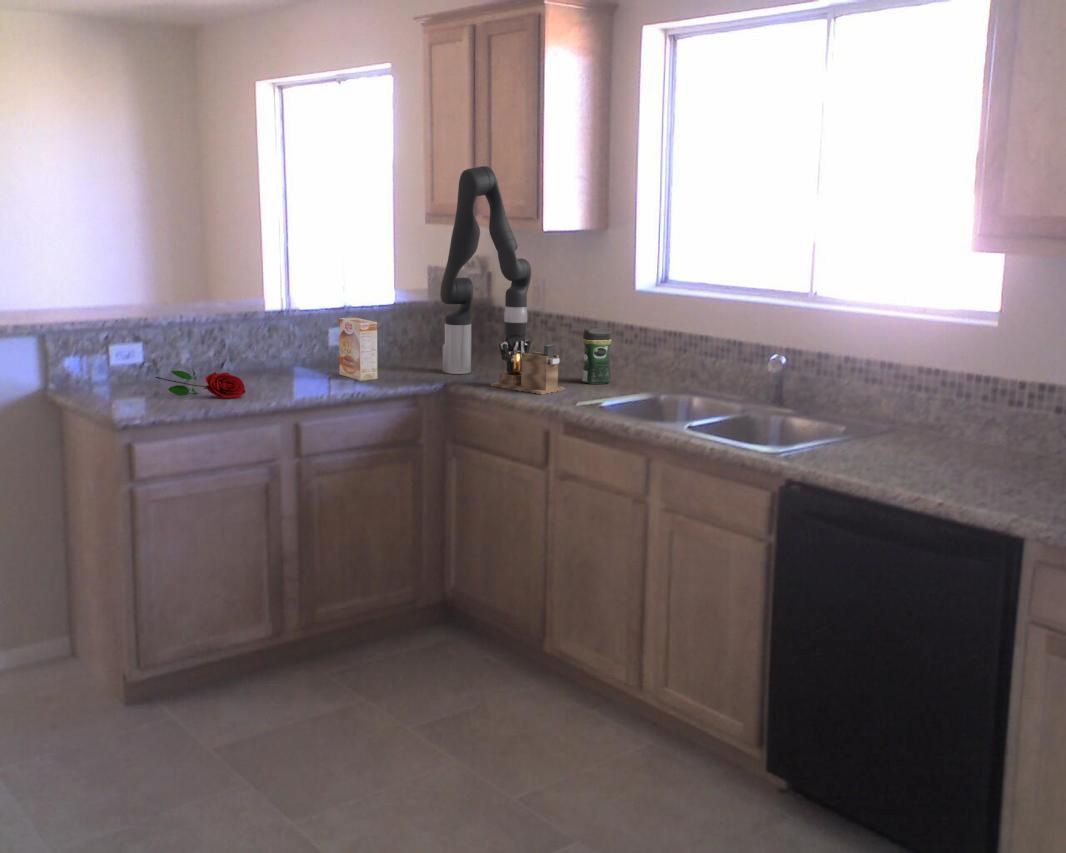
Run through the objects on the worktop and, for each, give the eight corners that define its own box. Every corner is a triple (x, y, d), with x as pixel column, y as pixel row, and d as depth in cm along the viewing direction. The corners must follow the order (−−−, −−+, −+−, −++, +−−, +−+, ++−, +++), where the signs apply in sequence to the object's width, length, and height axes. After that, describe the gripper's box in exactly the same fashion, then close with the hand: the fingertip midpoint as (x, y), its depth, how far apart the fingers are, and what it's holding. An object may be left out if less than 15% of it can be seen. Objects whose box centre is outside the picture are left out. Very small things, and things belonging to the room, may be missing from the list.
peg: (515, 378, 371) (515, 354, 370) (506, 377, 374) (507, 353, 372) (522, 377, 374) (522, 353, 372) (514, 375, 376) (514, 352, 375)
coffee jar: (605, 380, 390) (607, 326, 386) (613, 384, 383) (615, 329, 379) (578, 380, 388) (580, 326, 384) (585, 384, 380) (587, 329, 376)
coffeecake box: (338, 374, 389) (338, 317, 385) (357, 372, 393) (356, 316, 389) (359, 380, 377) (359, 322, 373) (378, 379, 382) (378, 321, 378)
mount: (491, 386, 373) (491, 350, 371) (515, 382, 382) (515, 347, 380) (540, 394, 360) (541, 357, 357) (564, 390, 369) (565, 354, 366)
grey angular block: (524, 359, 368) (524, 342, 367) (531, 358, 370) (531, 341, 369) (552, 364, 360) (553, 346, 359) (559, 363, 363) (559, 345, 362)
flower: (150, 357, 344) (242, 370, 339) (163, 367, 353) (253, 380, 348) (143, 385, 341) (235, 398, 337) (156, 395, 350) (246, 408, 346)
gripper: (509, 323, 362) (508, 376, 366) (538, 319, 373) (537, 371, 377) (492, 320, 367) (491, 373, 371) (521, 317, 378) (520, 368, 381)
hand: (514, 372), depth 374 cm, fingers closed on peg, 3 cm apart
